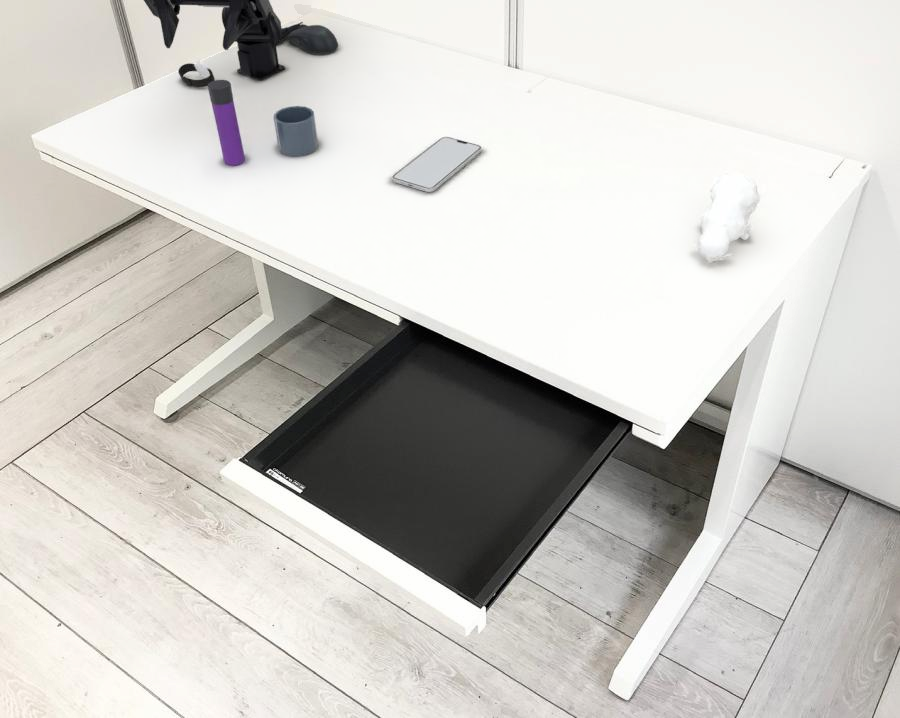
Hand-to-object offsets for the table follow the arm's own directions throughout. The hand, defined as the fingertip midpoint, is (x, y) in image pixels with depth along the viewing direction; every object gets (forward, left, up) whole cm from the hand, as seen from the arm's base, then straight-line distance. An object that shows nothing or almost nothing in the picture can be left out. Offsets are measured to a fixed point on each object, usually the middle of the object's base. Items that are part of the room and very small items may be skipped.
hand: (195, 47), depth 135 cm
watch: (-12, -19, -15) cm, 27 cm away
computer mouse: (-36, -15, -15) cm, 42 cm away
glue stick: (+4, +9, -15) cm, 18 cm away
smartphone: (-13, +36, -15) cm, 41 cm away
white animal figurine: (-18, +80, -15) cm, 83 cm away
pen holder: (-5, +14, -15) cm, 21 cm away
